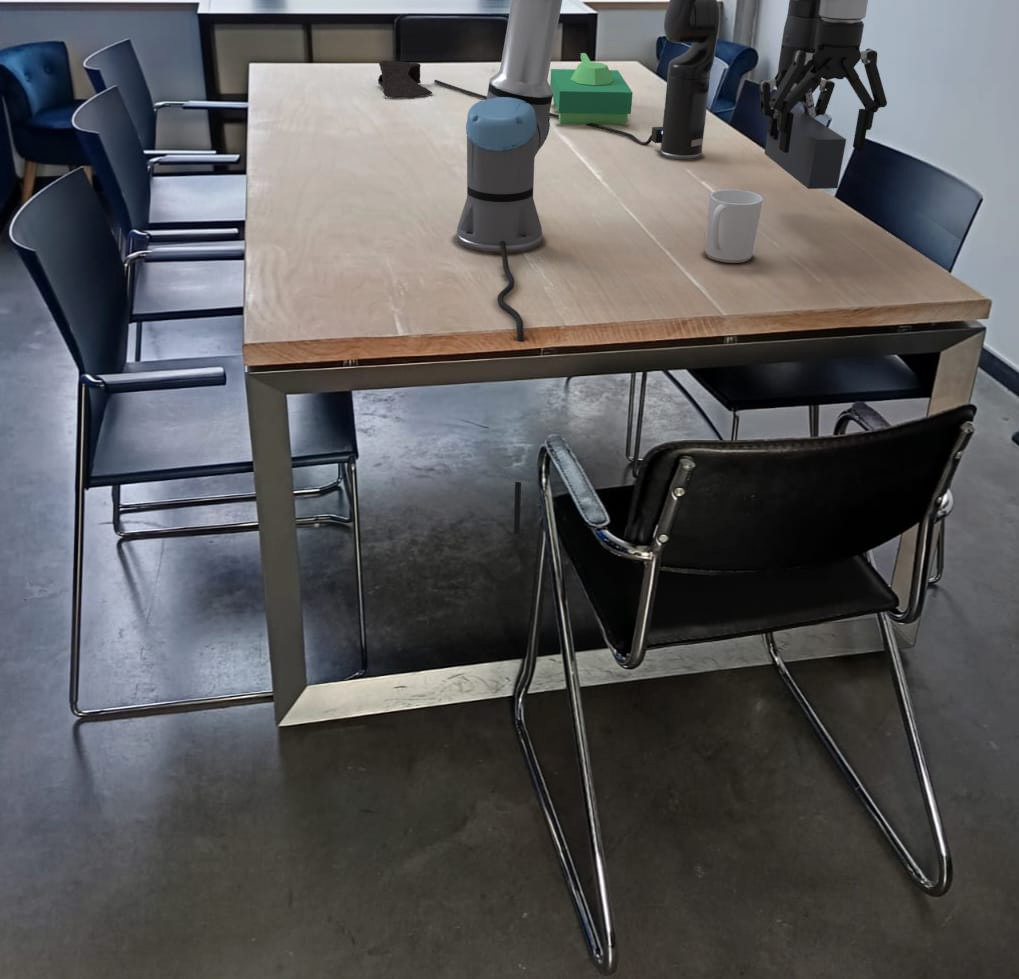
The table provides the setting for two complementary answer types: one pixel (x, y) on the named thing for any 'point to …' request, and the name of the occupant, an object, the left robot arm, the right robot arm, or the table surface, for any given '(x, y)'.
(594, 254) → the table surface
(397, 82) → the axe head
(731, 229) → the mug
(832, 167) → the bar
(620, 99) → the toy tank
